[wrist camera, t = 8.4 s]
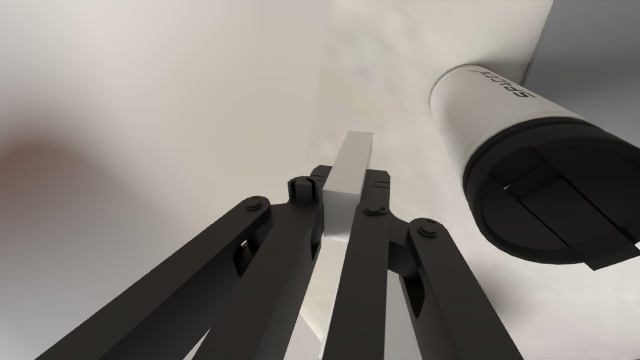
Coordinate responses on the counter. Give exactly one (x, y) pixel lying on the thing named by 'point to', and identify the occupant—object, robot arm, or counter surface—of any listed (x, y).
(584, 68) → the mat
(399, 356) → the utensil holder
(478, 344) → the robot arm
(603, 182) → the travel mug
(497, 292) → the counter surface
